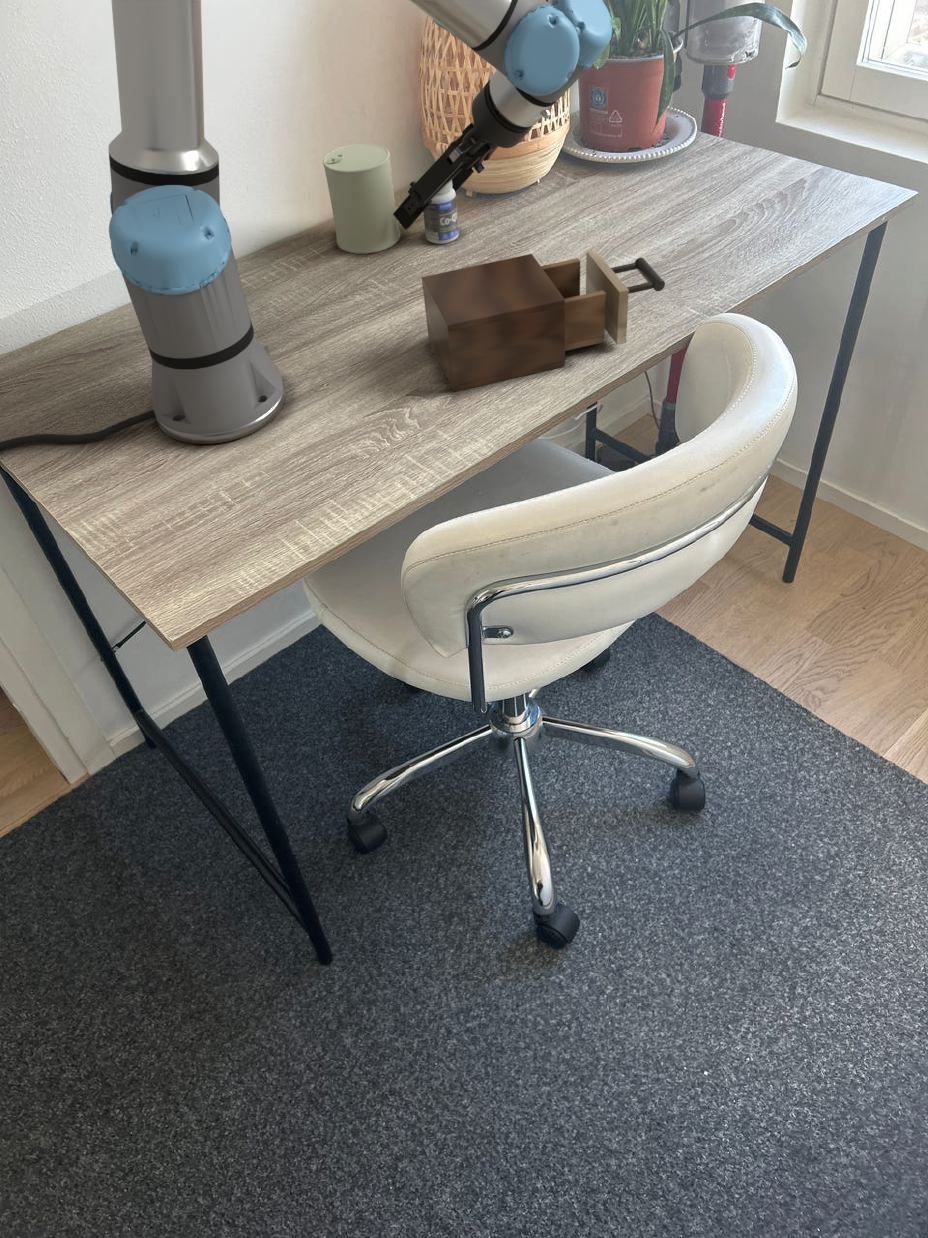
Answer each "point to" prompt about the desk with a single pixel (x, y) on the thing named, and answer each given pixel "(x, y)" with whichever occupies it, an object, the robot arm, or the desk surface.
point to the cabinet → (495, 321)
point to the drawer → (597, 298)
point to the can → (362, 197)
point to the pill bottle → (442, 217)
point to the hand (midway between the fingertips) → (422, 205)
